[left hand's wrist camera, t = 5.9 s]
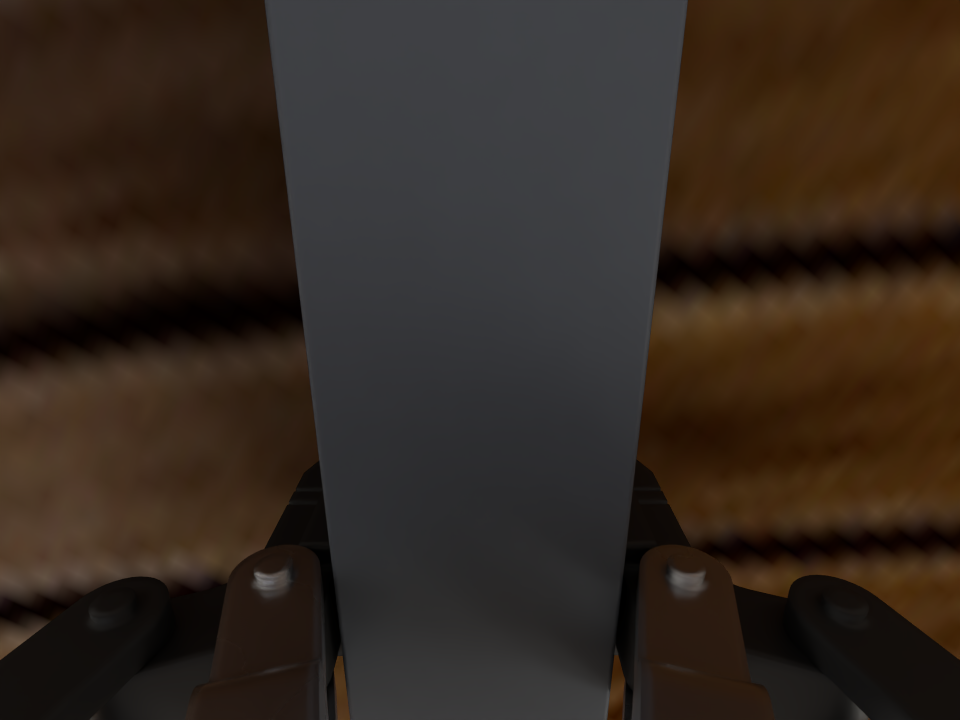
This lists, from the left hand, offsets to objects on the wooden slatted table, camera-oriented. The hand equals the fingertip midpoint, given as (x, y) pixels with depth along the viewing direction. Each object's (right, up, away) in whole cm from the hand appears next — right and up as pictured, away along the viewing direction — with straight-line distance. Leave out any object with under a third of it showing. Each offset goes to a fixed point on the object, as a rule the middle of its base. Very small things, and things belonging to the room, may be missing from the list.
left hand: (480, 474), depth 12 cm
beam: (0, +22, -6) cm, 23 cm away
